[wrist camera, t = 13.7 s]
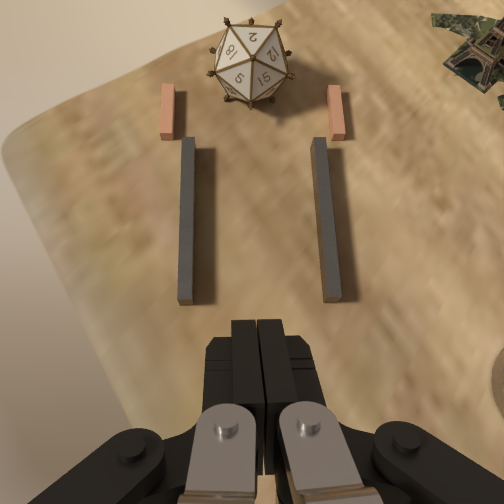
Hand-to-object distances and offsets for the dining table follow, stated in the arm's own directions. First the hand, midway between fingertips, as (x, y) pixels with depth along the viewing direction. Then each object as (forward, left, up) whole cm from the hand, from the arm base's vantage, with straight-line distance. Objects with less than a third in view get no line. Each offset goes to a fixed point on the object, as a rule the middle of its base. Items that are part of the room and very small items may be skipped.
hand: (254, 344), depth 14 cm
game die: (-2, -31, -26) cm, 41 cm away
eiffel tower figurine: (-28, -35, -27) cm, 52 cm away
